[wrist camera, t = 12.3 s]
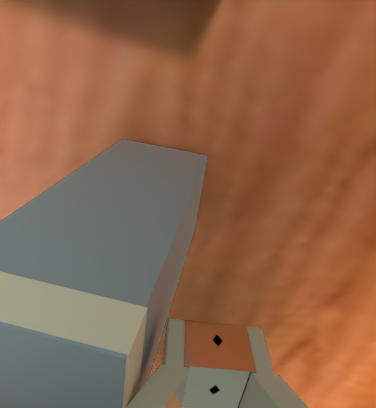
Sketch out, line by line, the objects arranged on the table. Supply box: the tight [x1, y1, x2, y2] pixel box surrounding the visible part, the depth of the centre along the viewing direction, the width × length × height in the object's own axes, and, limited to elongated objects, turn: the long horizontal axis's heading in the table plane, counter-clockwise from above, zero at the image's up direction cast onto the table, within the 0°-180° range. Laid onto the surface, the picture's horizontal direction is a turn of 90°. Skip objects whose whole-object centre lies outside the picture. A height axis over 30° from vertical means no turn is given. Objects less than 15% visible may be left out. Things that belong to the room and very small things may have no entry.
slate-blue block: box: [0, 139, 208, 408], centre depth 13 cm, size 5×5×13 cm
